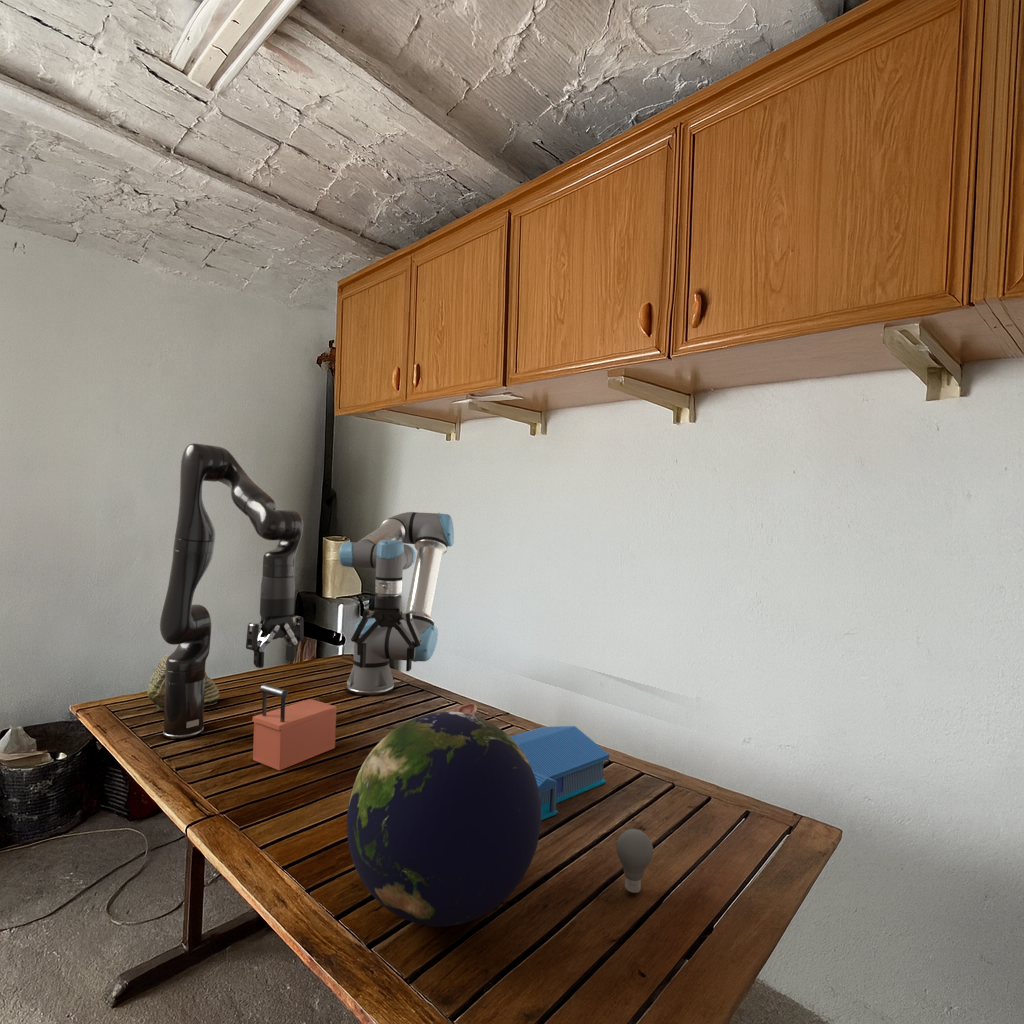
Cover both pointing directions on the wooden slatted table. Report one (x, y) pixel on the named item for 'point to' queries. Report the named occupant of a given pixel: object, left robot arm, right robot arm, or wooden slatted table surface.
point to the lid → (289, 710)
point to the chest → (294, 741)
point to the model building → (561, 763)
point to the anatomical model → (465, 709)
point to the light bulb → (634, 857)
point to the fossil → (158, 687)
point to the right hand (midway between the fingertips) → (385, 668)
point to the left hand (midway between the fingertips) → (275, 663)
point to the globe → (444, 819)
